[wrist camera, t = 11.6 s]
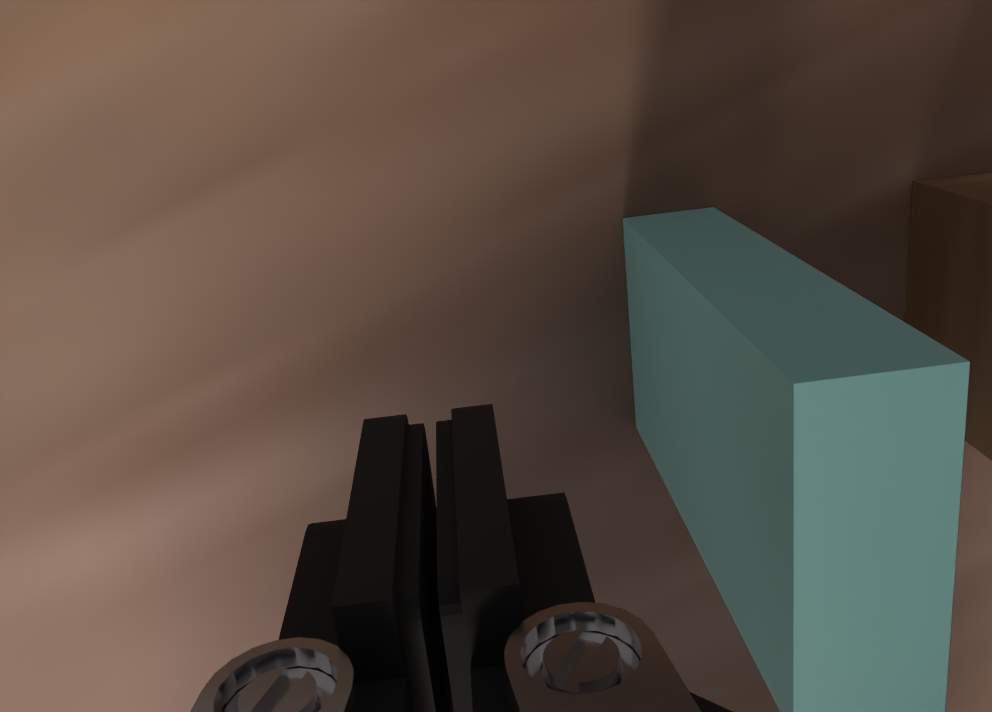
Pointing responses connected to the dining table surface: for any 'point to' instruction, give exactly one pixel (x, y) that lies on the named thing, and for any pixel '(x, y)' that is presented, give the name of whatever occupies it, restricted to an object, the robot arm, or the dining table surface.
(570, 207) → the dining table surface
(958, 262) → the domino
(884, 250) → the dining table surface
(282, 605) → the dining table surface
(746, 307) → the teal domino
